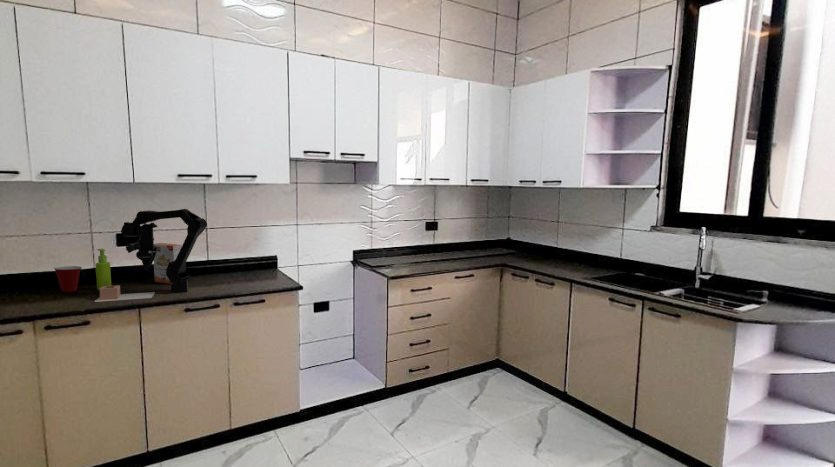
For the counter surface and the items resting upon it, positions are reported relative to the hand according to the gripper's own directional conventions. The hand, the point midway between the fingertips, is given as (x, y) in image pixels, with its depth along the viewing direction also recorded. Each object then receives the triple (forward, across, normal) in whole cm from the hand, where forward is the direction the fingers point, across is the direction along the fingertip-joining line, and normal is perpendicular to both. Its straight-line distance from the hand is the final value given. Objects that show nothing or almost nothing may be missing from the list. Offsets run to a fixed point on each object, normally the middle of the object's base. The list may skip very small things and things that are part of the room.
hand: (148, 268), depth 214 cm
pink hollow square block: (+11, +9, -14) cm, 20 cm away
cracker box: (+12, -21, +6) cm, 25 cm away
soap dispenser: (+12, -16, -22) cm, 30 cm away
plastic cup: (+12, -16, -36) cm, 41 cm away
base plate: (+12, +9, -8) cm, 17 cm away
